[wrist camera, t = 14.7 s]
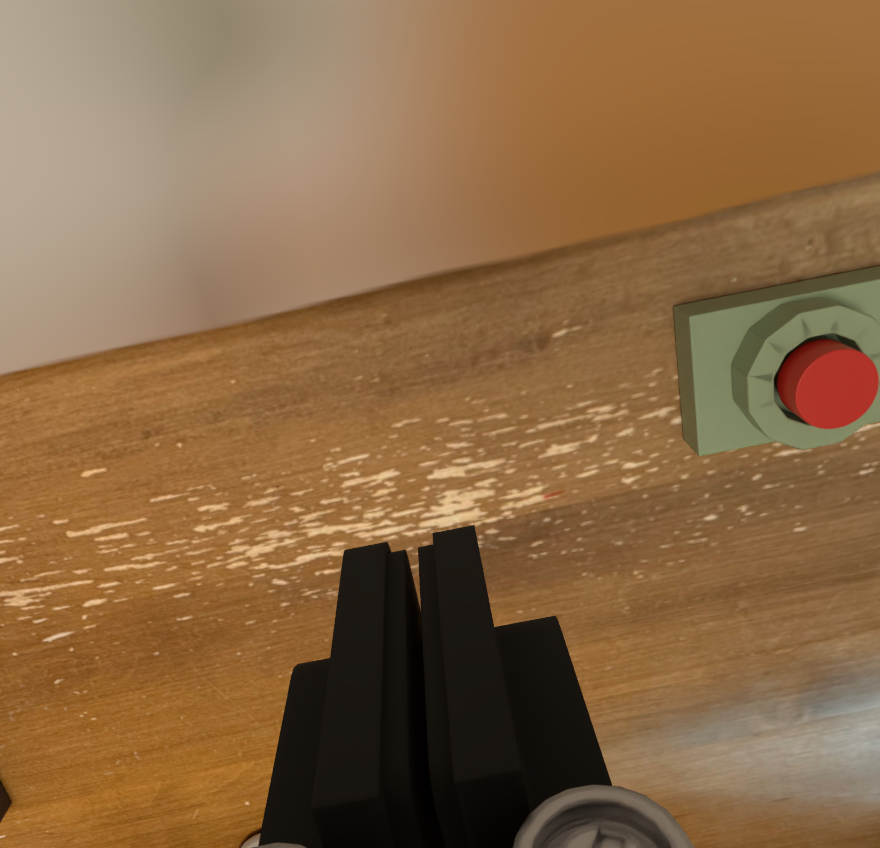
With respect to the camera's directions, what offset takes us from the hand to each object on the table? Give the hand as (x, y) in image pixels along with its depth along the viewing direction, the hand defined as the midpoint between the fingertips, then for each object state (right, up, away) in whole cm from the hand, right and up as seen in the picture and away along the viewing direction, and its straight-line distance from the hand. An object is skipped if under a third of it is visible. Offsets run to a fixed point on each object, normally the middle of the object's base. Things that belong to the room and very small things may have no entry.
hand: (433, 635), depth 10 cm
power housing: (+17, +6, +28) cm, 33 cm away
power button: (+17, +5, +24) cm, 30 cm away
